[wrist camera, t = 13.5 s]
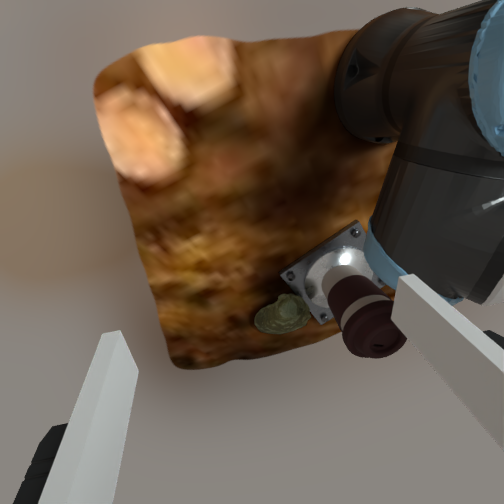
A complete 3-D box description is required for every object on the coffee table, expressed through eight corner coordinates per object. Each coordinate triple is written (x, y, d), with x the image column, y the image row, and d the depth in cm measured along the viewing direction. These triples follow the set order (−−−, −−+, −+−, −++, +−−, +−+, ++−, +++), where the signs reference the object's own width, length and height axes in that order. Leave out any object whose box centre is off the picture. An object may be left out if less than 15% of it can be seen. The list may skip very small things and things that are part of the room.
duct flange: (356, 219, 49) (360, 223, 48) (388, 278, 57) (393, 283, 55) (278, 272, 52) (280, 277, 50) (319, 321, 59) (322, 327, 58)
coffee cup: (349, 246, 50) (403, 301, 37) (373, 280, 54) (429, 339, 41) (303, 280, 52) (339, 344, 39) (330, 310, 56) (370, 376, 43)
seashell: (257, 342, 57) (268, 345, 47) (247, 305, 58) (255, 301, 49) (304, 326, 59) (324, 326, 49) (293, 291, 60) (310, 285, 51)
